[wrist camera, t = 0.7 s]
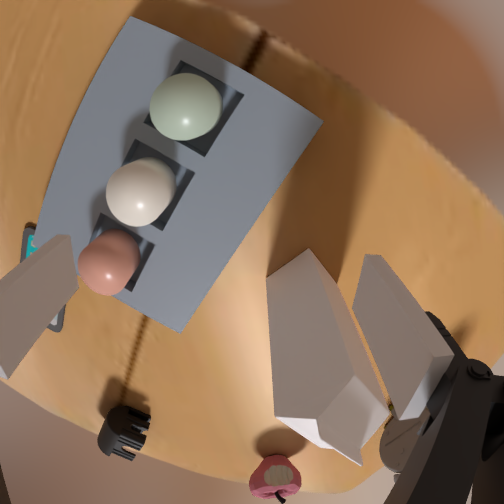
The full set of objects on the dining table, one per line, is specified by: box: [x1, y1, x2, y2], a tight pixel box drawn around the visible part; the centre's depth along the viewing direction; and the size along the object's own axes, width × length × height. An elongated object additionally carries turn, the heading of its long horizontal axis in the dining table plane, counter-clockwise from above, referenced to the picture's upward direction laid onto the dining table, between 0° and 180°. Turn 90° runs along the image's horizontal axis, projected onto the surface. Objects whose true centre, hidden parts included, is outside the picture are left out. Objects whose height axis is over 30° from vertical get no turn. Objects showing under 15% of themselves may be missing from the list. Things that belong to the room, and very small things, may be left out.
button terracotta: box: [78, 229, 141, 295], centre depth 29 cm, size 5×5×4 cm
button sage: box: [150, 73, 223, 140], centre depth 23 cm, size 5×5×4 cm
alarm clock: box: [379, 405, 430, 483], centre depth 40 cm, size 12×7×15 cm, turn 144°
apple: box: [249, 455, 301, 504], centre depth 47 cm, size 10×9×10 cm
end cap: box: [98, 406, 151, 461], centre depth 45 cm, size 10×7×7 cm
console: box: [32, 16, 324, 334], centre depth 29 cm, size 20×26×4 cm
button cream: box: [106, 157, 177, 227], centre depth 26 cm, size 5×5×4 cm
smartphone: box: [20, 226, 66, 332], centre depth 36 cm, size 9×1×15 cm
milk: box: [266, 248, 390, 466], centre depth 26 cm, size 6×6×22 cm
